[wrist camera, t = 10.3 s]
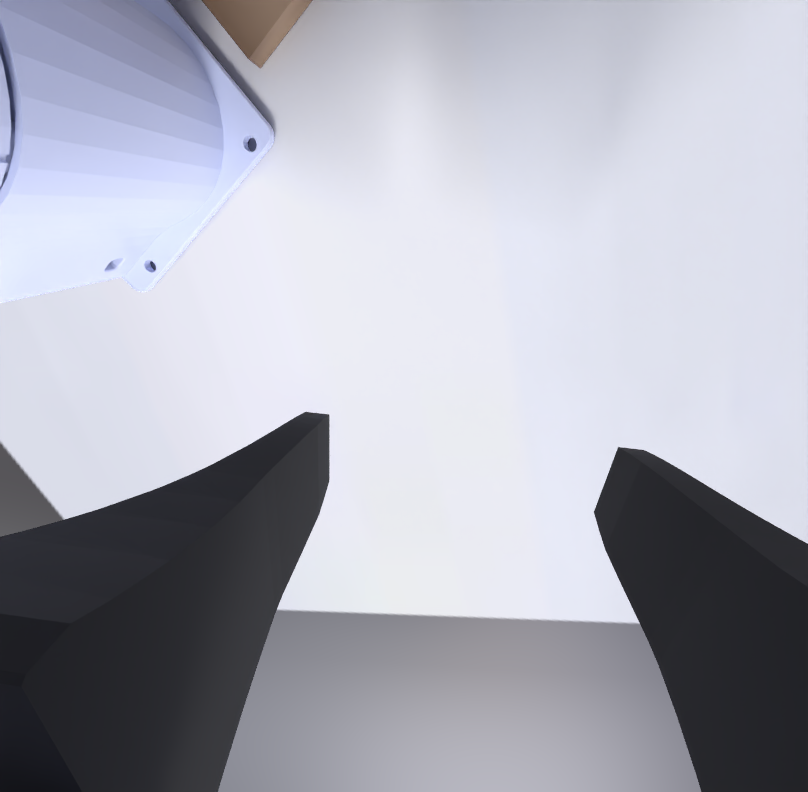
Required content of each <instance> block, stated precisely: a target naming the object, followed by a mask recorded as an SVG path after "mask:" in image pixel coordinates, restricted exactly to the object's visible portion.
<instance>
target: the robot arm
mask: <svg viewBox="0 0 808 792" xmlns="http://www.w3.org/2000/svg"><path fill="white" fill-rule="evenodd" d="M252 137H253V138H254V139H255V141H256V144H257V147H256V149H255V151H253V152H251V151H250V150H249V148H248V141H249V139H250V138H252ZM274 138H275V136H274V131H273V129H272V127H271V125H270V124H269V123H268V122H267V120H266V119H265V118H264V117H263V116H262V114H261V113H260V112H259V111H258V109H257V108H256V107H255V106H254V105H253V103H252V102H251V101H250V100H249V98H248V97H247V96H246V95H245V94H244V92H243V91H242V90H241V89H240V87H239V86H238V85H237V84H236V83H235V81H234V80H233V79H232V78H231V76H230V75H229V74H228V73H227V72H226V70H225V69H224V68H223V67H222V66H221V64H220V63H219V62H218V61H217V59H216V58H215V57H214V56H213V55H212V53H211V52H210V51H209V50H208V48H207V47H206V46H205V45H204V44H203V42H202V41H201V40H200V39H199V37H198V36H197V35H196V34H195V33H194V31H193V30H192V29H191V28H190V26H189V25H188V24H187V23H186V22H185V20H184V19H183V18H182V17H181V16H180V14H179V13H178V12H177V11H176V9H175V8H174V7H173V6H172V5H171V3H170V2H169V1H168V0H0V303H4V302H9V301H14V300H18V299H23V298H28V297H33V296H37V295H42V294H47V293H51V292H56V291H61V290H65V289H70V288H75V287H80V286H84V285H89V284H94V283H98V282H103V281H108V280H112V279H117V278H123V279H124V280H125V281H126V282H127V283H128V284H129V285H130V286H131V287H132V288H133V289H135V290H136V291H139V292H146V291H149V290H151V289H152V288H153V287H154V286H155V285H156V283H157V282H158V281H159V280H160V279H161V278H162V276H163V275H164V274H165V273H166V272H167V270H168V269H169V268H170V267H171V266H172V264H173V263H174V262H175V261H176V260H177V259H178V257H179V256H180V255H181V254H182V253H183V251H184V250H185V249H186V248H187V247H188V245H189V244H190V243H191V242H192V241H193V240H194V238H195V237H196V236H197V235H198V234H199V232H200V231H201V230H202V229H203V228H204V226H205V225H206V224H207V223H208V222H209V220H210V219H211V218H212V217H213V216H214V215H215V213H216V212H217V211H218V210H219V209H220V207H221V206H222V205H223V204H224V203H225V201H226V200H227V199H228V198H229V197H230V196H231V194H232V193H233V192H234V191H235V190H236V188H237V187H238V186H239V185H240V184H241V182H242V181H243V180H244V179H245V178H246V177H247V175H248V174H249V173H250V172H251V171H252V169H253V168H254V167H255V166H256V165H257V163H258V162H259V161H260V160H261V159H262V158H263V156H264V155H265V154H266V153H267V152H268V150H269V149H270V148H271V147H272V145H273V143H274ZM151 261H152V262H154V264H155V265H156V270H153V269H152V267H151V265H150V262H151ZM328 483H329V415H328V414H319V413H310V412H305V413H303V414H301V415H299V416H297V417H295V418H294V419H292V420H290V421H289V422H287V423H285V424H284V425H282V426H280V427H279V428H277V429H275V430H274V431H272V432H270V433H269V434H267V435H265V436H263V437H262V438H260V439H258V440H257V441H255V442H253V443H252V444H250V445H248V446H246V447H244V448H242V449H241V450H239V451H237V452H235V453H233V454H231V455H229V456H227V457H225V458H224V459H222V460H220V461H218V462H216V463H214V464H212V465H210V466H208V467H206V468H204V469H202V470H200V471H197V472H195V473H193V474H191V475H189V476H186V477H184V478H182V479H179V480H177V481H174V482H172V483H170V484H167V485H165V486H163V487H160V488H157V489H155V490H152V491H149V492H147V493H144V494H141V495H138V496H135V497H133V498H130V499H127V500H124V501H121V502H118V503H116V504H113V505H110V506H107V507H104V508H101V509H98V510H95V511H92V512H89V513H85V514H82V515H79V516H75V517H72V518H69V519H65V520H62V521H59V522H55V523H51V524H48V525H44V526H40V527H37V528H33V529H30V530H26V531H22V532H18V533H14V534H10V535H6V536H2V537H0V792H218V789H219V786H220V782H221V779H222V775H223V772H224V769H225V765H226V762H227V759H228V756H229V752H230V749H231V746H232V743H233V739H234V736H235V733H236V730H237V727H238V724H239V720H240V717H241V713H242V711H243V708H244V705H245V701H246V698H247V695H248V692H249V689H250V686H251V683H252V680H253V677H254V674H255V671H256V668H257V664H258V662H259V659H260V656H261V653H262V650H263V647H264V644H265V641H266V638H267V635H268V632H269V629H270V626H271V624H272V621H273V618H274V615H275V612H276V610H277V607H278V605H279V602H280V600H281V598H282V595H283V593H284V590H285V588H286V586H287V584H288V582H289V580H290V577H291V575H292V573H293V571H294V569H295V566H296V564H297V562H298V560H299V558H300V555H301V553H302V551H303V549H304V547H305V544H306V542H307V540H308V538H309V536H310V533H311V531H312V529H313V527H314V524H315V522H316V520H317V518H318V515H319V513H320V509H321V506H322V503H323V500H324V497H325V493H326V490H327V486H328ZM594 514H595V517H596V521H597V524H598V528H599V531H600V534H601V537H602V541H603V544H604V547H605V550H606V552H607V554H608V556H609V559H610V561H611V563H612V565H613V567H614V569H615V572H616V574H617V576H618V578H619V580H620V582H621V585H622V587H623V589H624V591H625V593H626V595H627V597H628V599H629V601H630V603H631V606H632V608H633V610H634V612H635V614H636V616H637V618H638V620H639V622H640V625H641V627H642V629H643V631H644V633H645V635H646V637H647V639H648V641H649V644H650V646H651V648H652V651H653V653H654V655H655V658H656V660H657V662H658V665H659V668H660V670H661V673H662V676H663V679H664V681H665V684H666V687H667V690H668V692H669V695H670V698H671V701H672V703H673V706H674V709H675V712H676V714H677V717H678V720H679V723H680V726H681V729H682V733H683V735H684V739H685V742H686V745H687V748H688V750H689V754H690V757H691V760H692V763H693V766H694V769H695V772H696V775H697V778H698V782H699V785H700V788H701V792H808V544H807V543H805V542H803V541H801V540H800V539H798V538H796V537H794V536H792V535H791V534H789V533H787V532H785V531H783V530H782V529H780V528H778V527H776V526H774V525H773V524H771V523H769V522H767V521H765V520H764V519H762V518H760V517H758V516H757V515H755V514H753V513H752V512H750V511H748V510H746V509H745V508H743V507H741V506H740V505H738V504H736V503H735V502H733V501H731V500H730V499H728V498H726V497H725V496H723V495H721V494H720V493H718V492H716V491H715V490H713V489H711V488H710V487H708V486H706V485H705V484H703V483H701V482H700V481H698V480H697V479H695V478H693V477H692V476H690V475H688V474H687V473H685V472H683V471H682V470H680V469H678V468H677V467H675V466H673V465H671V464H670V463H668V462H666V461H664V460H663V459H661V458H659V457H657V456H655V455H653V454H651V453H649V452H647V451H644V450H638V449H629V448H620V447H618V449H617V452H616V455H615V457H614V460H613V463H612V465H611V468H610V471H609V473H608V476H607V479H606V481H605V484H604V487H603V489H602V492H601V495H600V497H599V500H598V503H597V505H596V508H595V511H594Z"/></svg>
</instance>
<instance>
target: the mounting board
mask: <svg viewBox="0 0 808 792" xmlns="http://www.w3.org/2000/svg"><path fill="white" fill-rule="evenodd" d="M202 1H203V2H204V4H205V5H206V6H207V7H208V9H209V10H210V11H211V12H212V14H213V15H214V16H215V17H216V19H217V20H218V21H219V23H220V24H221V25H222V26H223V28H224V29H225V30H226V31H227V33H228V34H229V35H230V36H231V38H232V39H233V40H234V41H235V43H236V44H237V45H238V46H239V48H240V49H241V50H242V51H243V53H244V54H245V55H246V56H247V58H248V59H249V60H250V61H252V62H253V63H254V64H256V65H257V66H258V67H259V68H261V67H262V66H263V64H264V63H265V62H266V60H267V59H268V58H269V56H270V55H271V54H272V53H273V51H274V50H275V49H276V47H277V46H278V45H279V43H280V42H281V41H282V39H283V38H284V37H285V36H286V34H287V33H288V32H289V30H290V29H291V28H292V26H293V25H294V24H295V22H296V21H297V20H298V18H299V17H300V16H301V15H302V13H303V12H304V11H305V9H306V8H307V7H308V5H309V4H310V3H311V1H312V0H202Z"/></svg>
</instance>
